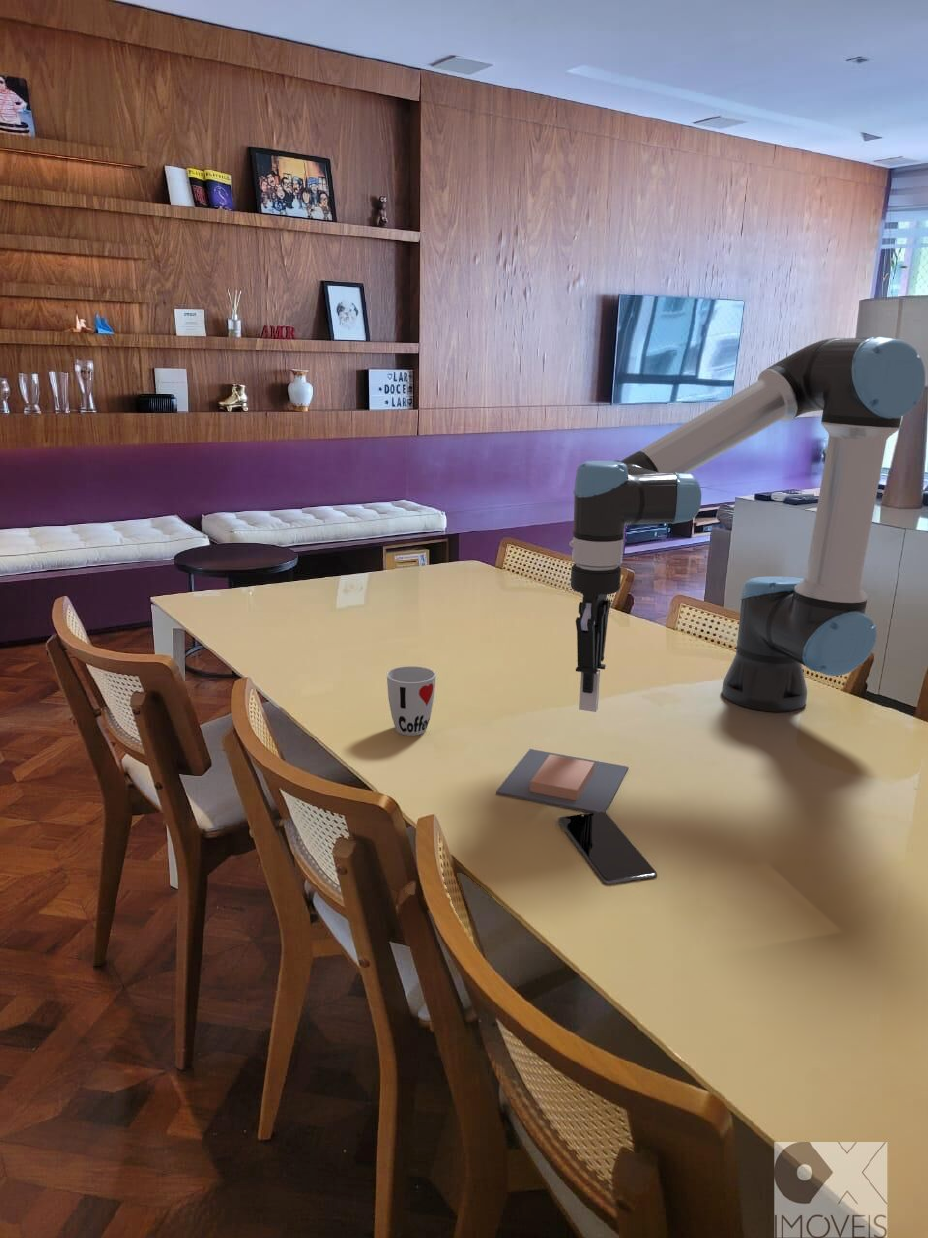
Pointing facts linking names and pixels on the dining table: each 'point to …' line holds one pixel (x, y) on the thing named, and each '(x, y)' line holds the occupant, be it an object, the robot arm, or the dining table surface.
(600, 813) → the smartphone
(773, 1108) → the dining table surface
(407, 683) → the cup
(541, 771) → the slab
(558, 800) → the mat
